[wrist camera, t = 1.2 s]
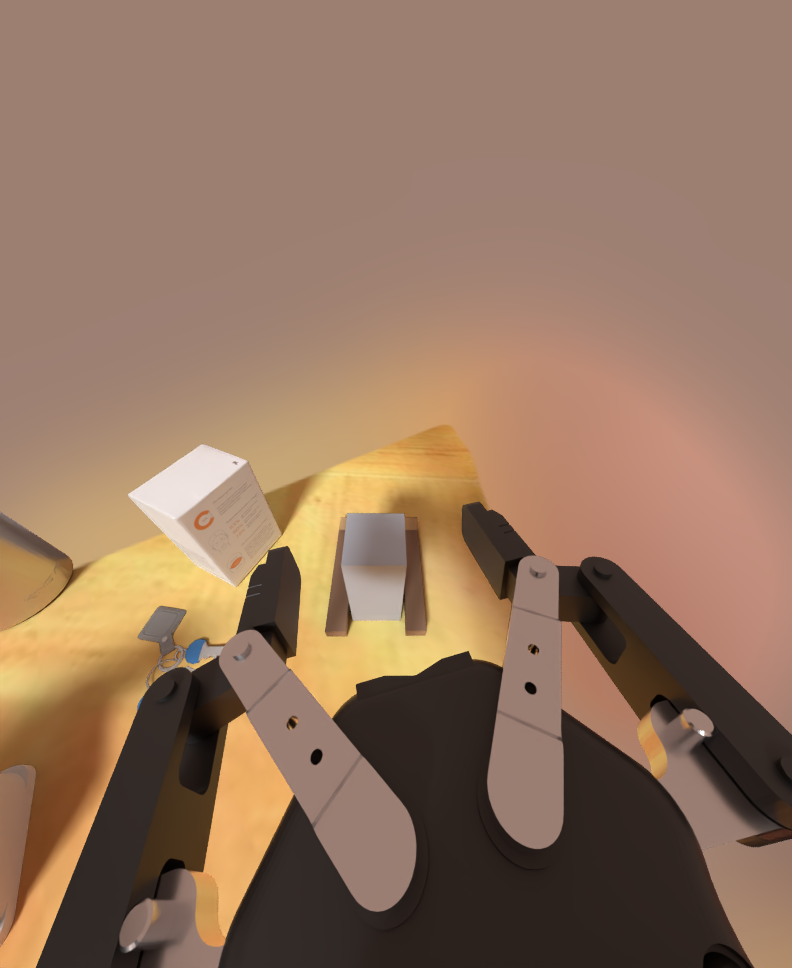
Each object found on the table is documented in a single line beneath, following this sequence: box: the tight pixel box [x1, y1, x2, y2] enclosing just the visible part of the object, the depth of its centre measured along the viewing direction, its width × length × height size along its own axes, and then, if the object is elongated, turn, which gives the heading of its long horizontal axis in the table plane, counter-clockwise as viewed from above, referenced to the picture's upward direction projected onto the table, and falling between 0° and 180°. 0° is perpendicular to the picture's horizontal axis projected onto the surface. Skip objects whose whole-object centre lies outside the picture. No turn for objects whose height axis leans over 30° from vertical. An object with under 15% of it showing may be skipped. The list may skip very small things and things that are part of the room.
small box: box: [128, 444, 282, 587], centre depth 31 cm, size 8×6×13 cm
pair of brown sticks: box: [325, 517, 427, 636], centre depth 34 cm, size 10×14×2 cm
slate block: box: [341, 513, 407, 621], centre depth 28 cm, size 5×5×12 cm
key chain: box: [137, 606, 224, 711], centre depth 28 cm, size 14×8×1 cm, turn 29°
